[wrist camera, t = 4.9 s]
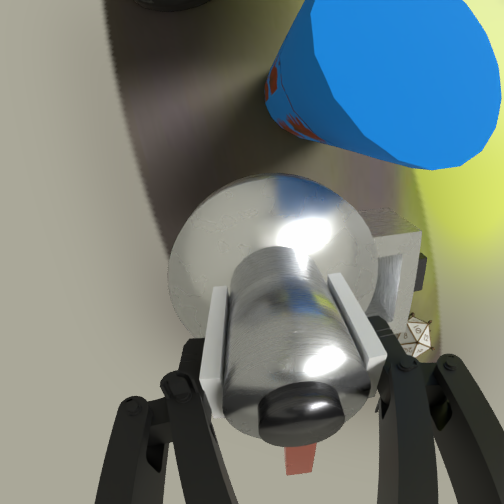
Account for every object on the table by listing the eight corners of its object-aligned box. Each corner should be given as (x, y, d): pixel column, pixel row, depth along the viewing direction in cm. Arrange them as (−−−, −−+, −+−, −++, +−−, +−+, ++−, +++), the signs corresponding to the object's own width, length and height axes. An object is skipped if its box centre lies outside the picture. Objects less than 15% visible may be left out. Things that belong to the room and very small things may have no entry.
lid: (168, 179, 19) (40, 282, 6) (352, 161, 19) (512, 231, 6) (200, 329, 24) (176, 485, 11) (347, 313, 24) (411, 454, 11)
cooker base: (261, 222, 37) (267, 251, 29) (406, 206, 37) (440, 228, 28) (273, 314, 44) (279, 356, 35) (397, 293, 43) (422, 326, 35)
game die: (392, 321, 50) (386, 370, 45) (387, 303, 45) (382, 360, 40) (434, 319, 45) (432, 370, 40) (436, 300, 40) (435, 359, 35)
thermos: (314, 156, 34) (435, 222, 11) (244, 103, 31) (245, 49, 8) (364, 94, 30) (521, 82, 8) (298, 41, 27) (386, -71, 5)
